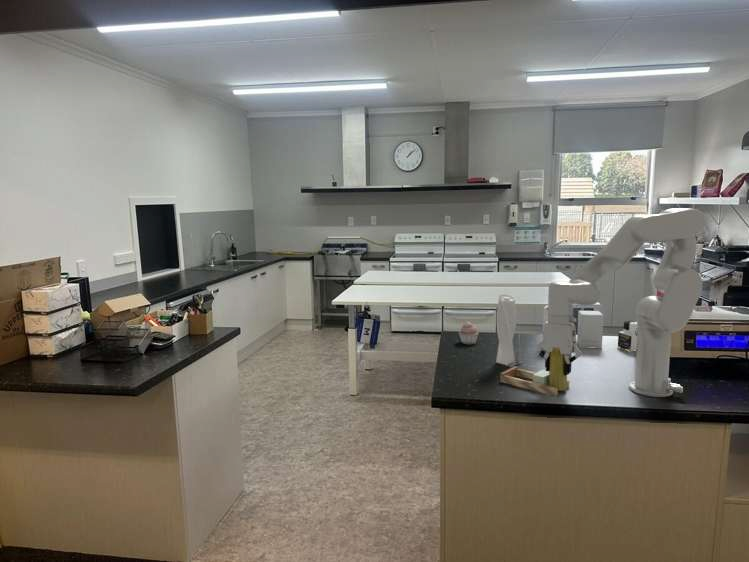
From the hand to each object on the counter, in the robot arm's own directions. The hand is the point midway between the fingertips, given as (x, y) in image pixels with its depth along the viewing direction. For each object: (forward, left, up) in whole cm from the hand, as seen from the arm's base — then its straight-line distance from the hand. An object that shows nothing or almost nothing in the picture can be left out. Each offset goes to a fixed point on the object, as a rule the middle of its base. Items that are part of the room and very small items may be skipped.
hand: (557, 371), depth 162 cm
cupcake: (+55, -31, -7) cm, 64 cm away
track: (+8, 0, -6) cm, 10 cm away
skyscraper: (+27, -15, -7) cm, 32 cm away
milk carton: (+23, -49, -7) cm, 55 cm away
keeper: (+5, 0, -6) cm, 8 cm away
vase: (0, 0, -6) cm, 6 cm away
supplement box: (+12, -61, -7) cm, 63 cm away
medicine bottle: (-3, -67, -7) cm, 67 cm away
